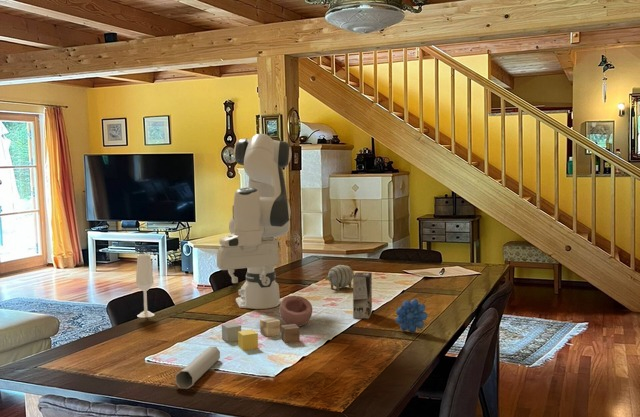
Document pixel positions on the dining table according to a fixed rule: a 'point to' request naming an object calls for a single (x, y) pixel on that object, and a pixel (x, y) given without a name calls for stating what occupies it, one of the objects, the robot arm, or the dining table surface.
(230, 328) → the grey cube
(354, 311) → the coffee box
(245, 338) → the mustard cube
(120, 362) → the dining table surface
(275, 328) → the beech cube
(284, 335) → the walnut cube
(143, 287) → the champagne flute
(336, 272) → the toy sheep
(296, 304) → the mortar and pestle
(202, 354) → the tube
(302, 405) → the dining table surface
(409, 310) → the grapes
